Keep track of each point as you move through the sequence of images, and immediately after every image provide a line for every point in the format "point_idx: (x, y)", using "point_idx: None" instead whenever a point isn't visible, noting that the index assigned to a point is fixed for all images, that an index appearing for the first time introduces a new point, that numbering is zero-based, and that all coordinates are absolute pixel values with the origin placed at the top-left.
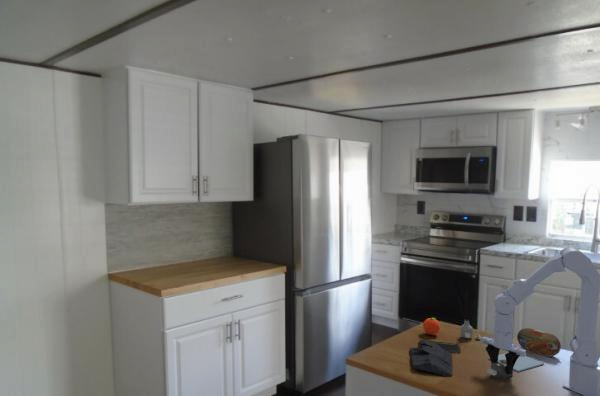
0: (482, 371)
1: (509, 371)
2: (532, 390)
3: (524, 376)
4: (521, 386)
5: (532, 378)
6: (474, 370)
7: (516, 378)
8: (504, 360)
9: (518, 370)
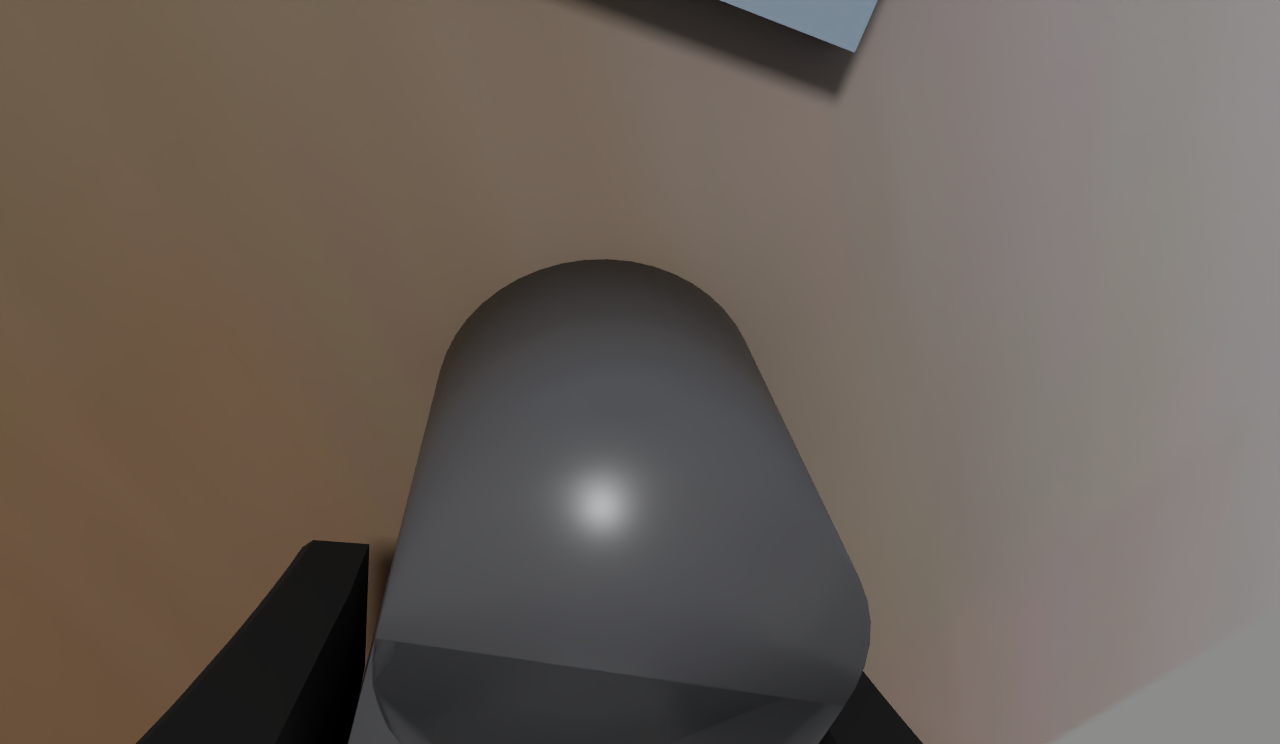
0: (164, 662)
1: None
2: (1151, 682)
3: (1022, 220)
4: (983, 683)
5: (1217, 189)
6: (30, 728)
7: (861, 468)
8: (500, 609)
9: (857, 20)
